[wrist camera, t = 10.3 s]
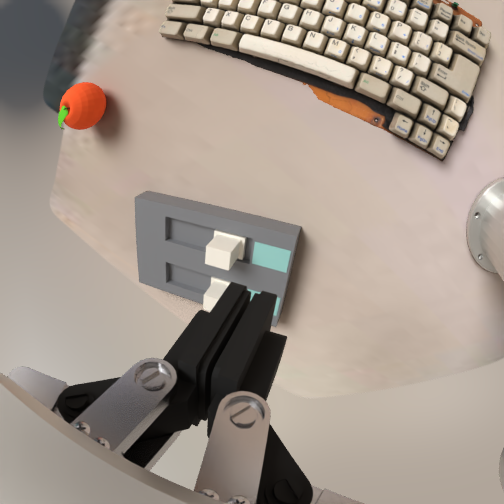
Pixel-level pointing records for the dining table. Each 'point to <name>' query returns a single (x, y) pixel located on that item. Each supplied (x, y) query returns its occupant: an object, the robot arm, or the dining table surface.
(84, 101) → the clementine
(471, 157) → the dining table surface
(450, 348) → the dining table surface
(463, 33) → the mechanical keyboard
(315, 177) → the dining table surface
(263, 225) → the switch panel
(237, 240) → the tab
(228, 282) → the tab
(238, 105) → the dining table surface
